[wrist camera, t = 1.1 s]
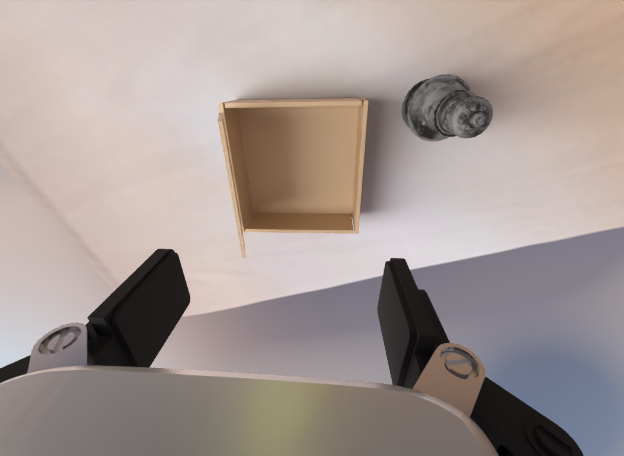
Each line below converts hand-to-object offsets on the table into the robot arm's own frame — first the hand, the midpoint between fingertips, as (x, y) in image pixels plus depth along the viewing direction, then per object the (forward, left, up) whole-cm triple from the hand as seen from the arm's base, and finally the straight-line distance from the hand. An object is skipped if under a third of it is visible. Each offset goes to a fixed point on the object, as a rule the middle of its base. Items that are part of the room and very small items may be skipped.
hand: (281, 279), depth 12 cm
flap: (+7, +1, -14) cm, 16 cm away
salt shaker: (-13, -5, -23) cm, 27 cm away
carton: (+1, +1, -23) cm, 23 cm away
